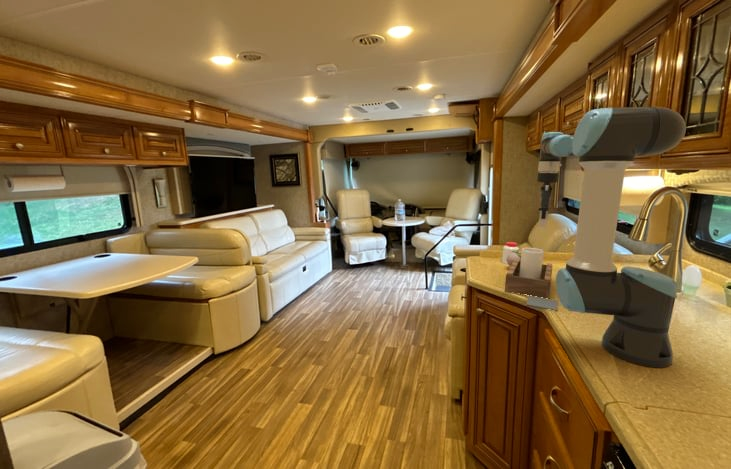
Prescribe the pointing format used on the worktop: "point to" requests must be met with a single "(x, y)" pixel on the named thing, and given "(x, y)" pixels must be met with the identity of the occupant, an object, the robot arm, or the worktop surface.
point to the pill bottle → (508, 250)
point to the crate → (528, 281)
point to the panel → (542, 303)
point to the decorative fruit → (513, 257)
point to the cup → (531, 263)
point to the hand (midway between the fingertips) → (542, 224)
